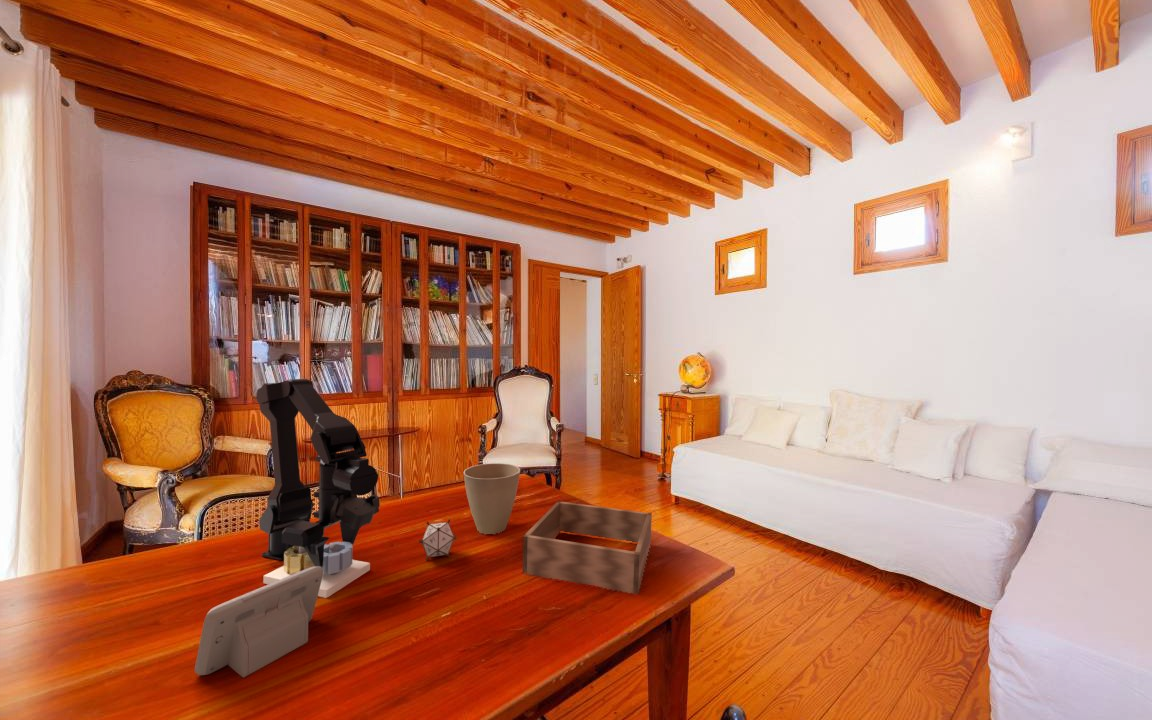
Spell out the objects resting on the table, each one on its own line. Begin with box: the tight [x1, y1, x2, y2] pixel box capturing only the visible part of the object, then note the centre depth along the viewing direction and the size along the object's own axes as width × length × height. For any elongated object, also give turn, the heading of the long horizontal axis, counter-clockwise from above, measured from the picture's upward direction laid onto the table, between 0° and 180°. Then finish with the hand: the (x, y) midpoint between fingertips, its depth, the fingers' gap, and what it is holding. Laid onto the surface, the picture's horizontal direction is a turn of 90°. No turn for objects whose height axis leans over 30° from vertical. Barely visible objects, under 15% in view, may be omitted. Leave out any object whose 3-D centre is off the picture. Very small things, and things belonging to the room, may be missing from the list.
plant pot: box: [463, 462, 521, 535], centre depth 112 cm, size 15×15×16 cm
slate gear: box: [322, 541, 354, 574], centre depth 86 cm, size 7×7×4 cm
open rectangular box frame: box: [522, 500, 653, 595], centre depth 98 cm, size 25×23×10 cm
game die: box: [418, 518, 458, 561], centre depth 97 cm, size 9×8×10 cm
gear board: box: [262, 544, 371, 599], centre depth 87 cm, size 16×11×7 cm
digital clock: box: [194, 566, 323, 678], centre depth 65 cm, size 16×9×11 cm, turn 139°
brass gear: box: [283, 546, 315, 574], centre depth 88 cm, size 7×7×4 cm
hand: (333, 560), depth 86 cm, fingers closed on slate gear, 7 cm apart
